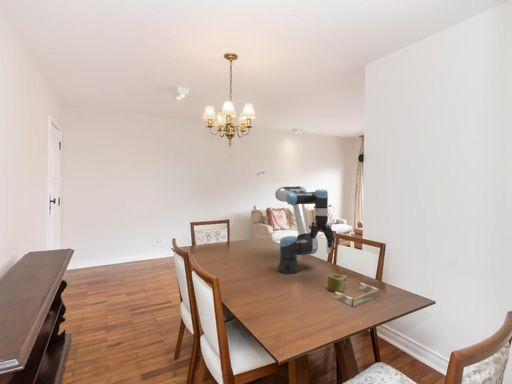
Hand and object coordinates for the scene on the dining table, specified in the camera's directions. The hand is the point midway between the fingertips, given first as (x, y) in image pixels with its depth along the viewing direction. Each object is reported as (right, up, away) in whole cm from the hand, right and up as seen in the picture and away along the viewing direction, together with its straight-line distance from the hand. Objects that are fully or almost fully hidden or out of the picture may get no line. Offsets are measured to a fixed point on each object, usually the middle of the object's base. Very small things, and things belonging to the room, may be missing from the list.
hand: (321, 250), depth 171 cm
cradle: (+15, -21, -21) cm, 33 cm away
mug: (+7, -21, -10) cm, 24 cm away
